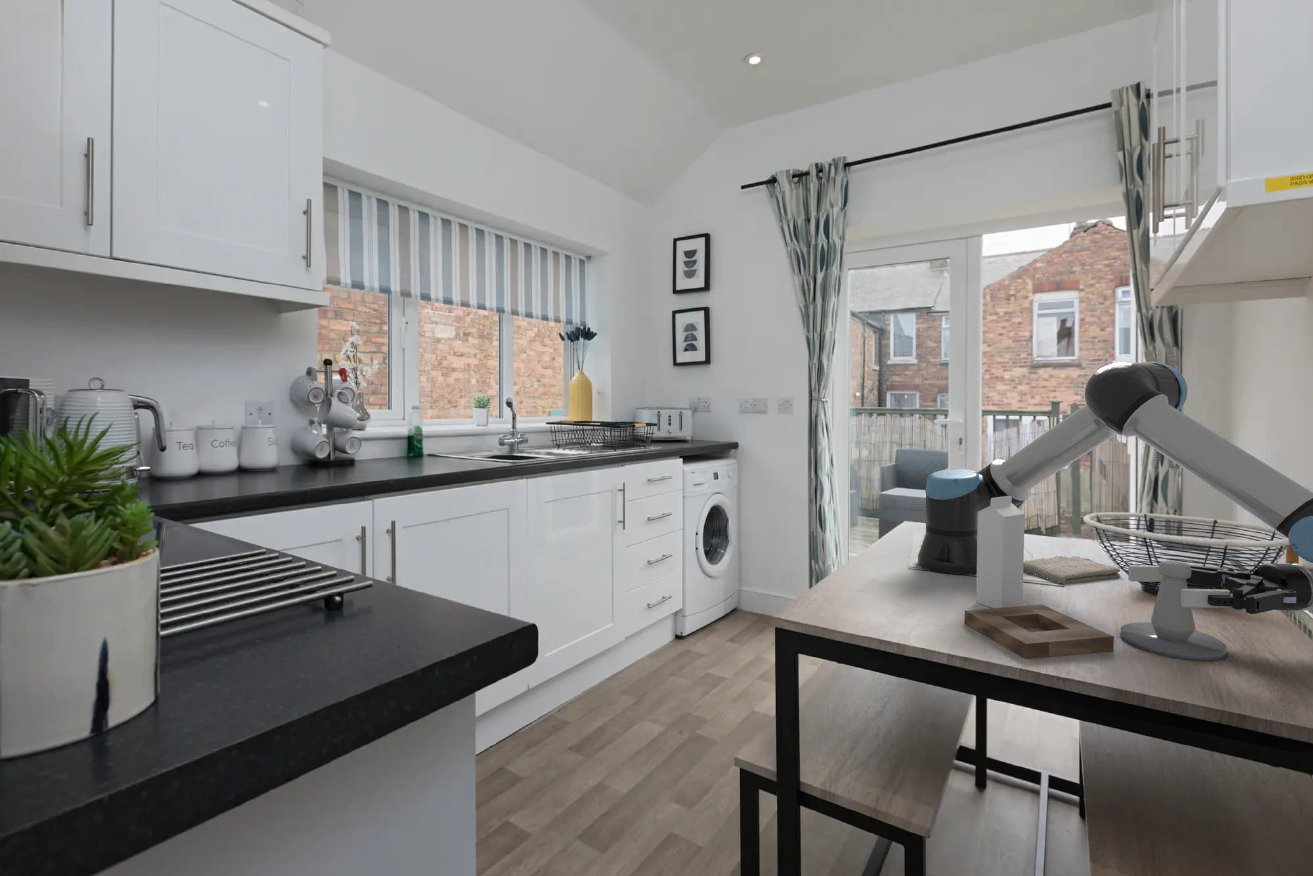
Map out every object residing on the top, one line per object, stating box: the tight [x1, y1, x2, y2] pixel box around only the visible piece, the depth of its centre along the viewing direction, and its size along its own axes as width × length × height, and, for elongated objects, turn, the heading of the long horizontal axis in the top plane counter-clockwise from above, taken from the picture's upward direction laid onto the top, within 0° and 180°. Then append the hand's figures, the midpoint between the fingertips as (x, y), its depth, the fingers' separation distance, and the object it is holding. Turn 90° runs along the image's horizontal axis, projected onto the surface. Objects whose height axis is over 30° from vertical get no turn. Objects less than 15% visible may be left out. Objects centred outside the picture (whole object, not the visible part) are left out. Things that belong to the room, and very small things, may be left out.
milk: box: [975, 496, 1026, 608], centre depth 128 cm, size 6×6×22 cm
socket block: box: [964, 604, 1115, 660], centre depth 112 cm, size 16×16×2 cm
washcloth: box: [1023, 555, 1121, 585], centre depth 148 cm, size 12×18×3 cm, turn 107°
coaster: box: [1119, 621, 1228, 662], centre depth 108 cm, size 14×14×1 cm
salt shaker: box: [1150, 560, 1196, 642], centre depth 107 cm, size 6×6×13 cm
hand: (1154, 584), depth 107 cm, fingers open, 13 cm apart
